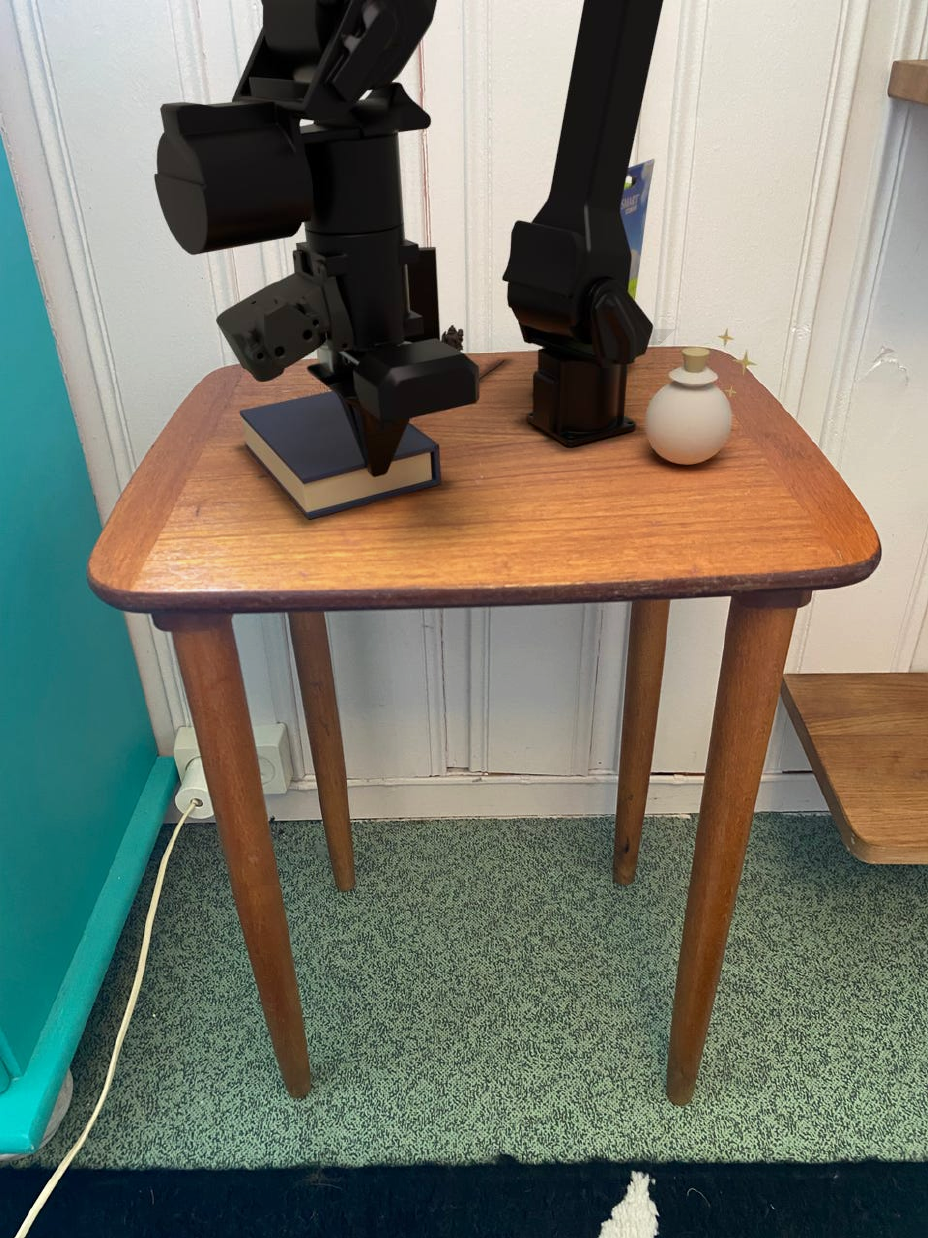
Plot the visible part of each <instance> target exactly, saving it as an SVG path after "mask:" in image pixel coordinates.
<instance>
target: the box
mask: <svg viewBox="0 0 928 1238" xmlns="http://www.w3.org/2000/svg"><path fill="white" fill-rule="evenodd" d="M655 162H656V161H655V158H652V159H649V160H647V161H644V162H641V163H638V164H634V165H632V166H629V167H628V172H627V177H631V182H625V187H624V191H623V196H622V201H621V208H620V213H621V217H622V220H623V224H624V228H625V232H626V235H627V239H628V243H629V246H630V250H631V254H632V261H631V270H630V279H629V288H628V292H629V294H630V295H631V296H632V298H633V299H634V300H635V301H636V295H637V287H638V281H639V273H640V265H641V258H642V251H643V242H644V234H645V225H646V219H647V212H648V204H649V196H650V195H649V194H650V189H651V183H652V177H653V173H654V166H655ZM542 348H544V347H541V349H542Z"/></svg>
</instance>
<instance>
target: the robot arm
mask: <svg viewBox="0 0 928 1238" xmlns="http://www.w3.org/2000/svg"><path fill="white" fill-rule="evenodd" d="M260 2H261V5H262V27H261V29H260V31H259V33H258V36H257V38H256V41H255V43H254V46H253V48H252V50H251V53H250V55H249V57H248V60H247V62H246V64H245V67H244V70H243V72H242V74H241V77H240V79H239V81H238V83H237V84H238V85H237V87H236V89H235V91H234V94H233V96H232V97H231V101H230V102H218V103H207V104H204V103H195V102H187V101H179V102H178V101H177V102H168V103H162V105H161V106H160V108H159V111H160V117H161V122H162V126H163V133H162V134H161V136H160V138H159V140H158V144H157V148H156V171H157V172H156V173H154V174H153V179H154V185H155V190H156V195H157V198H158V202H159V207H160V209H161V213H162V214H163V217H164V218H163V219H164V220H165V222H166V224H167V226H168V229H169V231H170V233H171V234H172V236H173V238H174V239H175V241H176V243H178V245H179V246H180V247H181V249H182V250H184V251H185V252H186V253H187V254H189V255H192V256H196V255H201V254H207V253H212V252H218V251H224V250H228V249H234V248H238V247H244V246H250V245H254V244H255V245H256V244H261V243H267V242H271V241H277V240H282V239H288V238H292V237H294V236H295V235H296V234H298V232H299V231H300V229H301V226H302V224H304V234H305V241H300V242H295V249H294V250H292V261H293V273H291V274H289V275H287V276H286V277H283V278H282V279H280V280H278V281H274V282H272V283H270V284H268V285H266V286H264V287H263V288H261V289H259V290H257V291H256V292H253V294H251V295H249V296H247V297H246V298H244V299H242V300H241V301H238V302H237V303H235V304H234V305H232V306H230V307H228V308H227V309H225V310H223V311H222V312H221V313H220V314H219V315H217V317H216V319H215V323H216V324H217V326H218V328H219V329H220V331H221V333H222V335H223V336H224V338H225V340H226V342H227V344H228V345H229V347H230V349H231V350H232V353H233V354H234V355H235V357H236V359H237V360H238V363H239V364H240V366H241V368H242V369H244V370H246V371H247V372H248V373H249V374H250V375H251V376H252V377H253V379H255V381H257V382H259V383H266V382H271V381H272V380H274V379H276V378H278V377H280V376H281V375H283V374H284V372H285V370H286V369H287V368H290V367H291V366H292V365H294V364H296V363H298V362H299V361H300V360H302V359H304V358H306V357H307V356H309V355H311V354H312V353H314V352H316V356H317V357H316V358H317V363H312V364H310V365H308V366H306V370H307V372H308V373H309V374H311V375H312V376H313V377H314V378H316V379H317V380H318V381H319V382H321V383H322V384H323V385H324V386H326V387H327V388H329V390H330V391H333V392H335V393H336V394H337V395H338V397H339V399H340V402H341V404H342V406H343V409H344V411H345V414H346V416H347V419H348V421H349V424H350V426H351V429H352V431H353V434H354V437H355V439H356V442H357V444H358V447H359V449H360V452H361V455H362V457H363V460H364V462H365V465H366V468H367V470H368V472H369V473H370V474H371V475H372V476H373V477H377V476H381V475H385V474H386V473H387V472H388V470H389V467H390V465H391V463H392V460H393V458H394V455H395V453H396V451H397V448H398V446H399V443H400V441H401V439H402V436H403V434H404V431H405V429H406V427H407V425H408V422H409V423H410V421H411V419H414V418H418V417H423V416H427V415H430V414H436V413H440V412H444V411H448V410H453V409H457V408H461V407H465V406H470V405H474V404H477V402H478V401H479V400H480V380H479V377H480V366H479V365H477V364H476V363H475V361H473V360H472V359H471V358H470V357H468V356H467V355H466V354H465V353H464V352H462V351H458V350H457V349H455V348H453V347H451V346H449V345H447V344H446V343H444V342H442V341H441V339H440V340H438V339H436V338H435V339H430V340H425V341H420V342H415V343H411V342H404V337H408V336H413V335H418V334H423V333H424V330H423V317H422V316H421V315H419V314H417V313H415V312H413V311H411V310H410V304H409V289H408V274H407V264H413V263H419V262H420V261H419V247H420V244H419V243H418V242H414V241H412V240H410V239H406V232H405V231H406V228H405V215H404V214H405V213H404V201H403V200H404V198H403V185H402V169H401V168H402V167H401V154H400V140H399V139H400V138H399V133H405V132H412V131H421V130H426V129H429V127H431V124H432V117H431V116H430V114H429V113H428V112H427V111H425V109H424V108H423V107H421V106H420V105H419V104H418V103H417V102H416V101H414V100H413V99H412V98H411V96H410V95H409V94H408V92H407V91H406V89H405V88H404V85H403V83H401V82H399V81H395V80H396V79H398V78H399V76H400V75H401V73H402V71H403V70H404V69H405V68H406V66H407V64H408V63H409V61H410V59H411V58H412V56H413V55H414V53H415V52H416V50H417V48H418V46H419V45H420V43H421V42H422V40H423V39H424V37H425V35H426V34H427V32H428V31H429V29H430V27H431V26H432V24H433V21H434V17H435V12H436V7H437V3H438V0H260ZM663 4H664V0H583V3H582V9H581V16H580V21H579V27H578V31H577V38H576V43H575V48H574V55H573V61H572V65H571V66H572V67H571V71H570V77H569V82H568V89H567V93H566V99H565V105H564V111H563V116H562V122H561V128H560V133H559V140H558V145H557V151H556V156H555V161H554V167H553V173H552V179H551V185H550V190H549V192H548V197H547V199H546V201H545V202H544V203H543V205H542V206H541V208H540V209H539V210H538V212H537V213H536V215H535V217H534V218H533V219H532V221H527V220H520V219H518V220H516V221H515V222H514V225H513V227H512V229H511V233H510V249H509V250H510V251H509V257H508V262H507V265H506V268H505V270H504V272H503V275H502V277H501V280H502V281H503V282H506V283H507V288H506V299H507V301H506V302H507V306H508V308H510V309H511V311H512V313H513V316H514V317H515V319H516V320H517V322H518V326H519V329H520V332H521V337H522V340H523V342H524V343H526V344H529V345H531V344H533V345H535V346H538V347H541V348H538V350H537V370H535V371H534V372H533V374H532V411H531V412H527V413H526V421H527V422H528V423H530V424H532V425H533V426H535V427H536V428H538V429H539V430H541V431H543V432H544V433H546V434H547V435H549V436H551V437H552V438H554V439H555V440H557V441H558V442H560V443H562V444H563V445H565V446H568V447H574V446H577V445H581V444H585V443H589V442H592V441H597V440H601V439H604V438H608V437H612V436H616V435H619V434H624V433H627V432H630V431H634V430H636V429H637V421H635V420H633V419H632V418H629V416H628V417H627V416H626V415H625V413H626V412H625V410H626V409H625V408H626V398H627V397H626V396H627V384H628V383H627V381H628V367H629V365H632V364H635V362H636V359H637V358H638V357H642V356H644V355H645V354H646V353H647V350H648V346H649V344H650V340H651V337H652V334H653V330H654V324H653V322H651V320H650V319H649V317H648V316H647V315H646V313H645V312H644V310H642V308H641V307H640V306H639V304H638V303H637V301H636V299H635V300H634V299H633V298H632V296H631V295H630V294H629V292H628V288H629V279H630V270H631V261H632V254H631V250H630V246H629V243H628V239H627V235H626V232H625V228H624V224H623V220H622V217H621V213H620V208H621V201H622V196H623V191H624V187H625V182H626V181H627V178H628V176H627V172H628V168H629V167H630V162H631V157H632V153H633V149H634V143H635V138H636V133H637V129H638V125H639V119H640V114H641V110H642V105H643V100H644V96H645V95H644V94H645V91H646V90H645V89H646V85H647V81H648V76H649V71H650V67H651V61H652V58H653V57H652V56H653V52H654V47H655V43H656V39H657V33H658V28H659V25H660V24H659V23H660V18H661V13H662V9H663ZM368 91H370V92H369V94H367V96H366V97H365V98H362V97H363V96H364V95H365V94H366V93H367V92H368ZM302 120H304V121H311V122H312V123H310V124H305V125H301V121H302ZM542 347H544V348H542Z"/></svg>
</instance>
